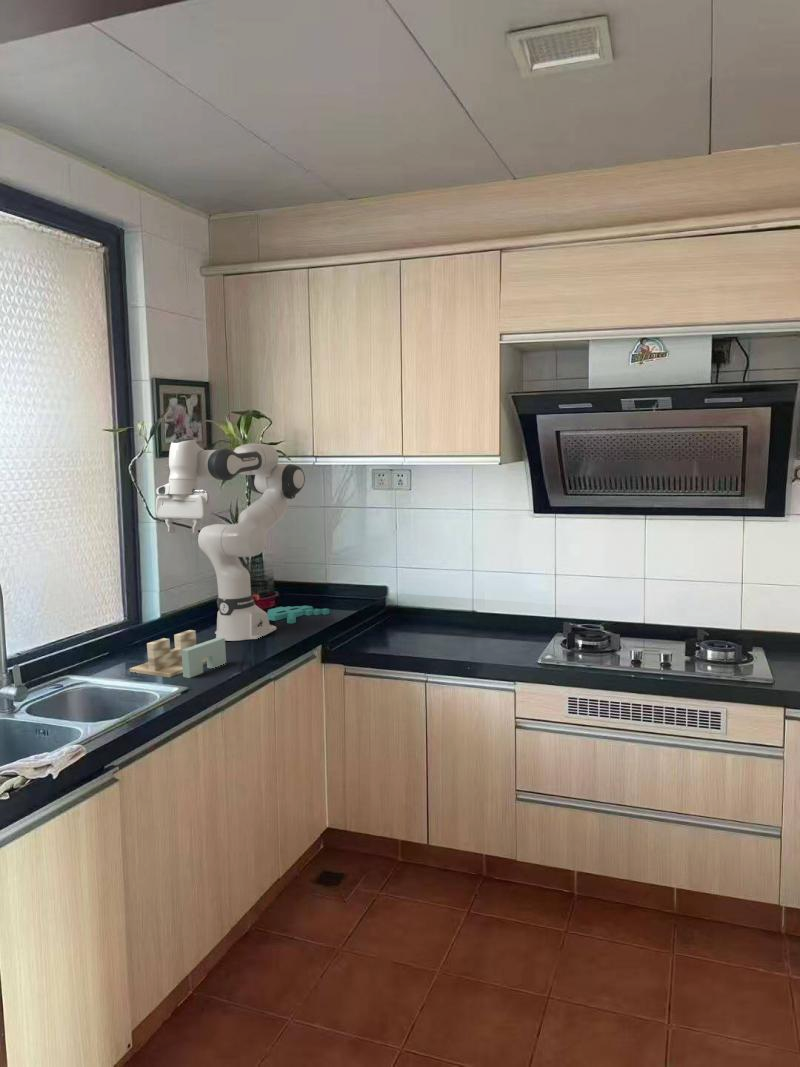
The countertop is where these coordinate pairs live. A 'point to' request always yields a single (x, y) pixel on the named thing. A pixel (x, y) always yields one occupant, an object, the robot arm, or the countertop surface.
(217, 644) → the crossbar
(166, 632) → the countertop surface
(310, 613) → the alien figure
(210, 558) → the robot arm
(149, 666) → the slotted stand
